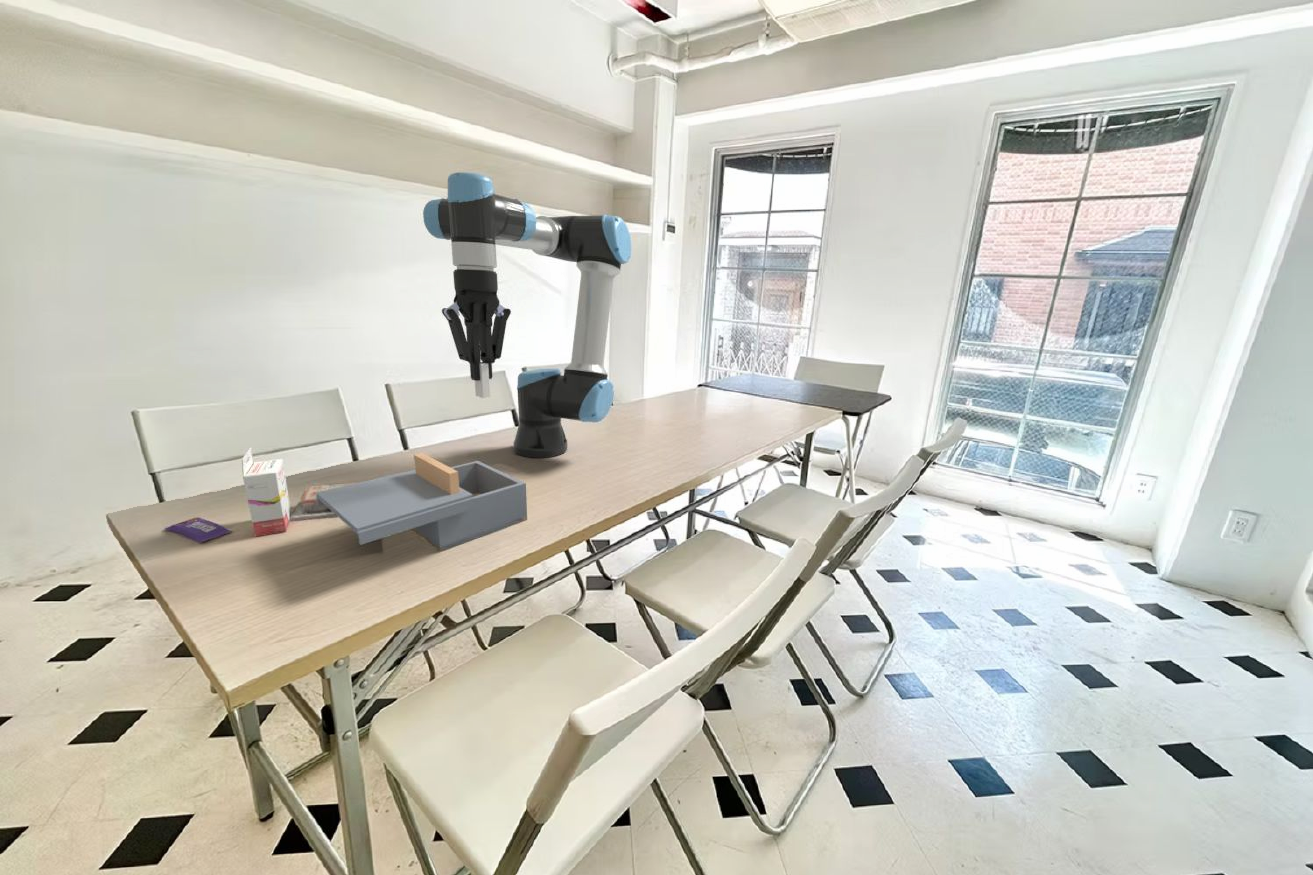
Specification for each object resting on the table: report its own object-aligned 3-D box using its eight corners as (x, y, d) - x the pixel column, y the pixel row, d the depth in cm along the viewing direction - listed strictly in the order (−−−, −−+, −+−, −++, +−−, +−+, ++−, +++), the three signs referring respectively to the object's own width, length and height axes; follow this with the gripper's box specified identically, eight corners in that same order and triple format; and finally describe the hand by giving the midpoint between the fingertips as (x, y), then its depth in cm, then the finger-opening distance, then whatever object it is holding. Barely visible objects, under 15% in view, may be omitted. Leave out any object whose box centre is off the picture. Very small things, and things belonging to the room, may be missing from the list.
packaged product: (397, 474, 110) (390, 491, 101) (400, 494, 111) (393, 513, 102) (301, 481, 104) (285, 500, 95) (305, 502, 105) (289, 523, 96)
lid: (423, 478, 103) (421, 448, 101) (475, 508, 90) (473, 474, 88) (317, 504, 89) (311, 470, 87) (360, 544, 76) (355, 505, 74)
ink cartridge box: (288, 531, 92) (274, 456, 88) (254, 537, 90) (238, 460, 86) (293, 513, 100) (280, 443, 95) (262, 518, 97) (247, 446, 93)
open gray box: (480, 494, 112) (477, 460, 110) (527, 520, 101) (525, 483, 99) (397, 518, 99) (392, 481, 97) (440, 551, 88) (436, 510, 86)
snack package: (232, 526, 91) (198, 537, 86) (234, 535, 91) (201, 547, 87) (195, 513, 95) (162, 523, 91) (197, 522, 96) (164, 533, 91)
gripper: (495, 270, 98) (501, 389, 104) (430, 266, 88) (441, 397, 95) (518, 271, 93) (522, 395, 100) (451, 267, 83) (461, 404, 90)
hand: (482, 396), depth 97 cm, fingers closed
